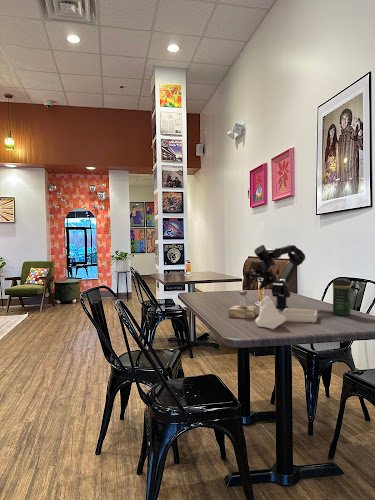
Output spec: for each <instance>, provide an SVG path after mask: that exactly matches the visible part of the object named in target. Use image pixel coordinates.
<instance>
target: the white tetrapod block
mask: <svg viewBox="0 0 375 500" xmlns="http://www.w3.org/2000/svg"><path fill="white" fill-rule="evenodd" d="M275 307H276V306H275V304H274V302H273V300H272V299H271V296H268V295H265V296H264V297H263V298H262V300H261V303H260V306H259V307H258V308H259V309H258V311H259V313H258V317H256V319H255V321H254V322H255V324H256V326H257V327H259V328H260V327H261V328H267V329H270V330H271V329H272V330H275V329H276V328H277V327H279V326H280V325H281V324H283V323H284V322H287V321H286V318H285V316H283V315H281V313H280V312H279V310H278V308H275Z"/></svg>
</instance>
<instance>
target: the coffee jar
mask: <svg viewBox="0 0 375 500" xmlns="http://www.w3.org/2000/svg"><path fill="white" fill-rule="evenodd" d="M332 314H333V315H337V316H339V315H342V316H349V315H350V314H351V281H350V279H348V278H345V277H344V278H343V277H340V278H336V279H334V280H332Z"/></svg>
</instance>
